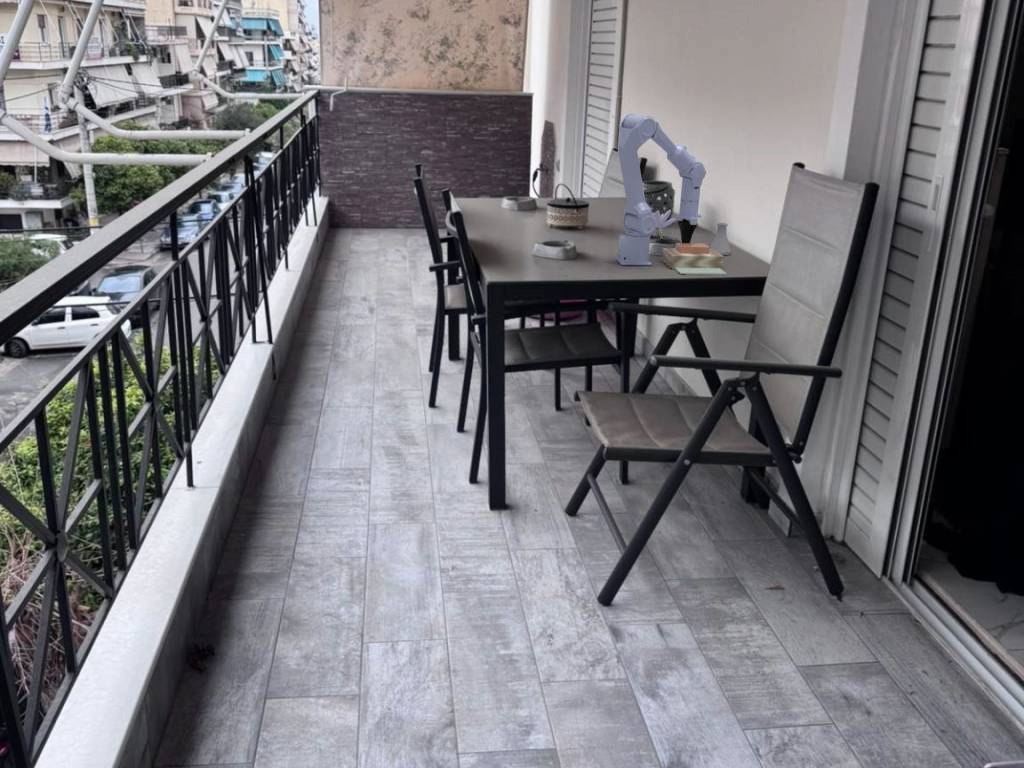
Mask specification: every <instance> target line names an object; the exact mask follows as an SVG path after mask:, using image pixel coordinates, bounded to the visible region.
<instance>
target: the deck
mask: <svg viewBox="0 0 1024 768" xmlns="http://www.w3.org/2000/svg"><path fill="white" fill-rule="evenodd" d="M724 261H725V255H721V254H720V253H718V252H717V251H716V250H714V249H710V251H709V254H689V253H679V252H678V251H677V250H676V247H663V248H662V255H661V262H663V263H664V264H665V263H666V264H667V265H668V266H669V267H670V268H674V267H679V268H720V269H722V270H723V271H724ZM666 264H665V265H666ZM667 265H666V266H667ZM668 266H667V267H668ZM669 267H668V268H669ZM670 268H669V269H670Z"/></svg>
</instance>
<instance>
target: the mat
mask: <svg viewBox="0 0 1024 768" xmlns="http://www.w3.org/2000/svg"><path fill="white" fill-rule="evenodd" d="M675 269H676V270H675ZM673 270H675V271H676V272H677V273H678V272H679V273H680V274H686V275H687V276H728V273H727V271H724V269H723V270H722V269H720V268H679V267H674V269H673ZM679 273H678V274H679ZM680 274H679V275H680ZM686 275H685V276H686Z"/></svg>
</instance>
